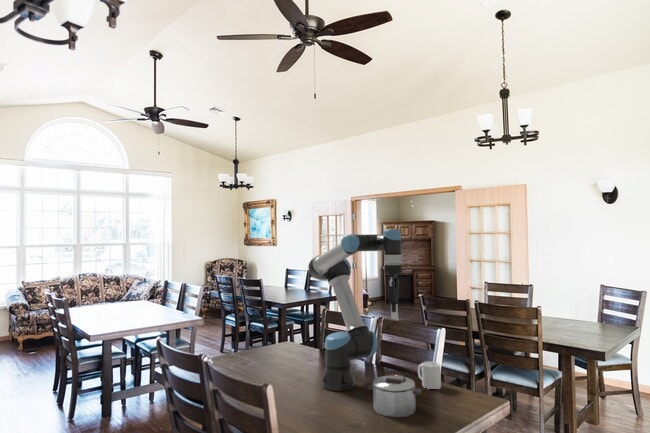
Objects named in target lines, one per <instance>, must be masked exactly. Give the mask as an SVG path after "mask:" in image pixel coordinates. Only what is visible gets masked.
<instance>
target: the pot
mask: <svg viewBox="0 0 650 433" xmlns="http://www.w3.org/2000/svg"><path fill="white" fill-rule="evenodd" d="M366 390H372V408H373V410H374V411H375V413H377V414H379V415H382V416H384V417H390V418H391V417H392V418H402V417H404V418H405V417H409V416H411V415H413V414H415V412H416V410H417V408H416V407H417V406H416V396H420V395H421V393H422V389H421V388H416V386H415V387H414V388H412V389H410V390H407V391H399V392H393V391H385V390H381V389H378V388H376V387H375V386H374V385H373V383H369V384H368V385H367V386H366Z"/></svg>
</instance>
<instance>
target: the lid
mask: <svg viewBox="0 0 650 433" xmlns="http://www.w3.org/2000/svg"><path fill="white" fill-rule="evenodd" d="M399 375H400V374H399ZM399 375H392V376H387V375H384V376H382V375H381V376H379V377H376V378H374V379H373V380H372V384H373V385H374V386H375V387H376V388H378V389H381V390H385V391H393V392H399V391H407V390H410V389H412V388H414V387H415V388H416V383H415V380H413V379H411V378H409V377H406V376H405V375H402V376H399Z"/></svg>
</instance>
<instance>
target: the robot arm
mask: <svg viewBox="0 0 650 433" xmlns="http://www.w3.org/2000/svg"><path fill="white" fill-rule="evenodd" d="M358 252H359V253H360V252H383V257H384V259H383V263H384V274H387V275H388V279H387V288H388V300H389V302H388V304H389V305H390V320H396V321H397V320H399V307H398V305H399V304H400V301H399V299H400V298H399V295H400V293H399V292H400V288H399V287H400V278H399V277H398V274H402V273H403V266H402V265H401V264H402V260H403V259H404V258H403V256H402V234H401V230H400V229H397V228H394V229H393V228H391V229H384V230H383V234H381V233H379V234H358V233H356V234H354V233H353V234H352V233H351V234H345V235H344V236H343V237H342V238H341V241H340V243H338V244H337V245H335V246H334V247H332V248H331V249H329V250H326V251H325V252H324V253H323V254H321V255H316V256H314V257H313V258H312V259H311V260H310V261H309V263H308V267H307V269H308V272H309V274H310V276H312V278H314V279H316V280H318V281H319V280H320V281H322V280H323V281H324V280H327V283H328V285H329V286H331V287H332V289H333V291H334V294H335V297H336V301H337V303H338V306H339V309H340V313H341V315H342V317H343V318H342V319H343V321H344V325H345V328H346V330H345V331H337V332H332V333H330V334H328V335H327V336H326V337H325V341H324V342H325V345H324V349H325V352H324V355H325V370H324V373H323V377H322V381H321V384H322V385H321V386H322V388H324V389H325V390H328V391H333V392H334V391H335V392H342V391H343V392H344V391H349V390H352V389H354V388H355V386H356V383H355V382H356V381H355V377H354V375H353V371H352V369H351V367H352V366H351V363H352V362H351V361H354V360H359V359H367V358H369V357H372V356H375V354H376V353H377V350H378V347H379V341H378V337H377V334H376V333H375V332H374V331H373V330H372V331H371V330H370V328H369V327H368V325H366V324H365V323H364V322H363V319H362V316H361V314H360V310H359V308H358V305H357V302H356V299H355V297H354V294H353V291H352V288H351V286H350V282H349V281H350V276H351V274H352V266H351V263H350V262H349V260H348V259H347V258H350V257H351V256H353V255H355V254H356V253H358Z"/></svg>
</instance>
